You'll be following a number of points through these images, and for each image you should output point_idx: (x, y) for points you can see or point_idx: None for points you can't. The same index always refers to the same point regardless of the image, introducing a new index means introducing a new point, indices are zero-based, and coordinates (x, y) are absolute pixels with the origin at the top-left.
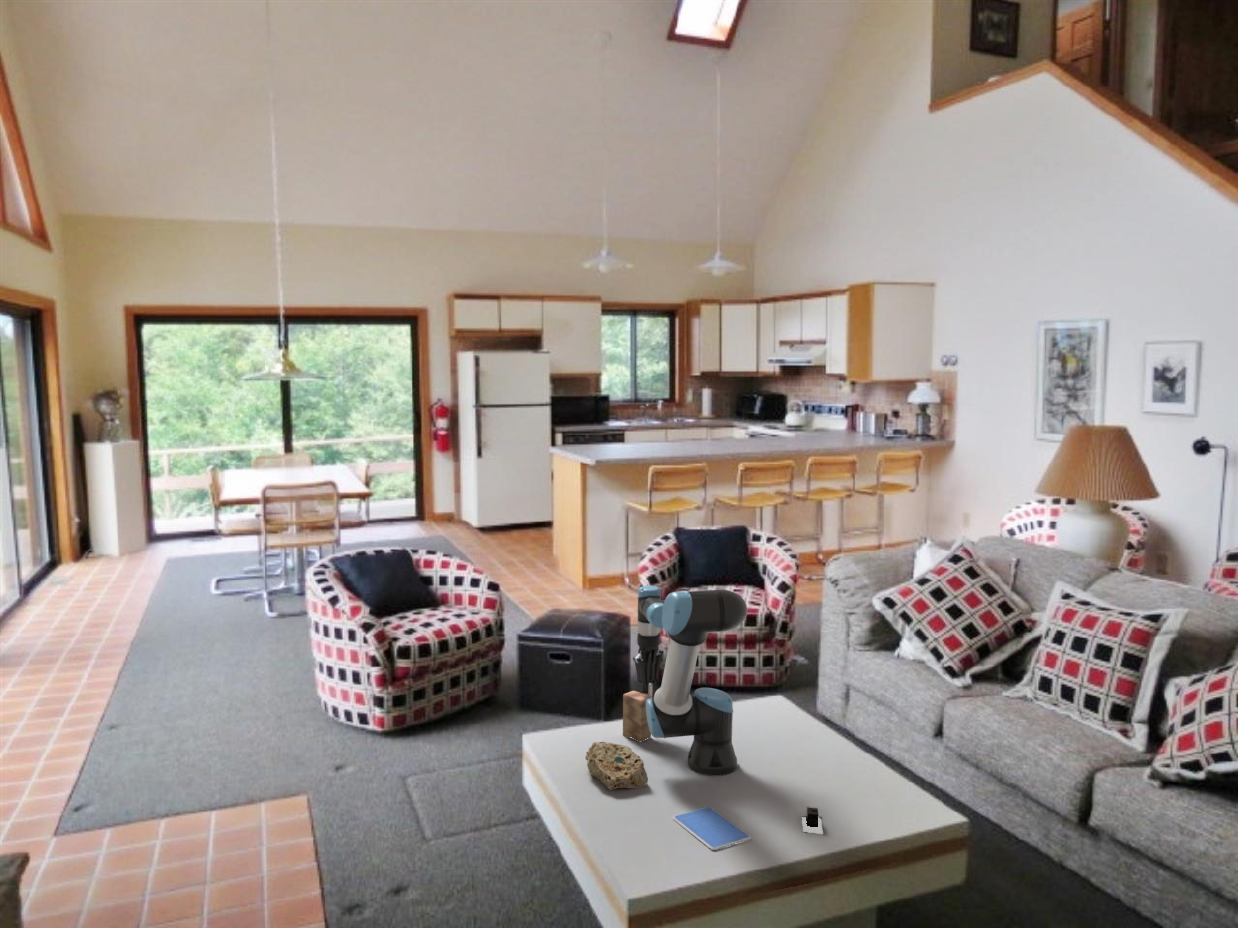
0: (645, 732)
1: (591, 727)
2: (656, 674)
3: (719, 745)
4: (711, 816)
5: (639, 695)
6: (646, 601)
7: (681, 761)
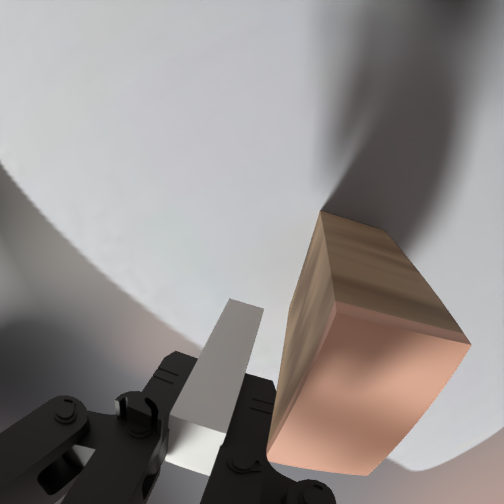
0: (363, 231)
1: None
2: (47, 447)
3: None
4: None
5: (351, 407)
6: None
7: (457, 18)
